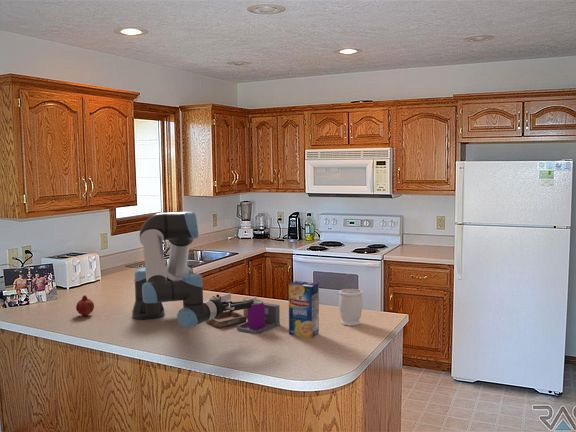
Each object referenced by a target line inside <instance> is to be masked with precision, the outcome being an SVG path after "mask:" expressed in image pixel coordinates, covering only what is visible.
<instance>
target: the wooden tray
mask: <svg viewBox="0 0 576 432" xmlns="http://www.w3.org/2000/svg"><path fill="white" fill-rule="evenodd" d="M245 322H247V318H246V316H245V315H244V314H242V313H240V312H237V311H233V312H230V310H226V311H223V313H222V315H221V316H219V317H216V318H213V319H211V320H208V321H207V322H206V323H207V324H210V325H211V326H213V327H216V328H218V329H224V328H225V329H226V328H229V327H233V326H238V325H240V324H242V323H245Z"/></svg>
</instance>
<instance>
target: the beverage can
mask: <svg viewBox="0 0 576 432" xmlns="http://www.w3.org/2000/svg"><path fill="white" fill-rule="evenodd" d="M263 303H264V301H263V300H262V299H257V303H256V304H253V305H252V308H249V309H247V315H248V318H247V321H248V326H247V329H251V330H256V331H258V330H259V329H261V328H263V327H266V324H265V306H264V304H263Z"/></svg>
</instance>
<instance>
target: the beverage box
mask: <svg viewBox="0 0 576 432" xmlns="http://www.w3.org/2000/svg"><path fill="white" fill-rule="evenodd" d="M319 286H320V284H319V283H318V282H308V281H301V280H295V281H293V282H290V283H288V334H289V335H290V336H297V337H301V338H306V339H307V338H308V339H313V338H315V337H316V336H318V335H319V333H320V323H319V322H320V321H319V320H320V318H319V317H320V316H319V313H320V312H319V311H320V309H319V308H320V305H319V304H320V303H319V301H320V297H319V295H320V293H319V291H320V290H319V288H320V287H319Z"/></svg>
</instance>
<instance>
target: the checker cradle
mask: <svg viewBox="0 0 576 432" xmlns="http://www.w3.org/2000/svg"><path fill="white" fill-rule="evenodd" d="M263 304H264V306H265V327H263V328H261V329H259V330H251V329H249V328H247V327H248V320H246V322H245V323H242V324H238V325H236V330H237V331H239V332H243V333H249V334H253V335H261V334H263V333H265V332H267V331H270V330H271V329H273V328H275V327H277V326H279V325H280V321H281V319H280V314H281V313H280V311H281V310H280V304H274V303H268V302H263Z"/></svg>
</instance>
